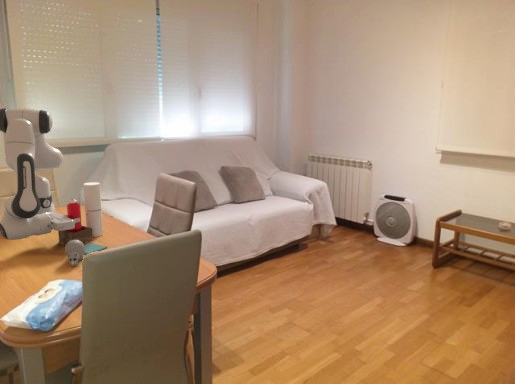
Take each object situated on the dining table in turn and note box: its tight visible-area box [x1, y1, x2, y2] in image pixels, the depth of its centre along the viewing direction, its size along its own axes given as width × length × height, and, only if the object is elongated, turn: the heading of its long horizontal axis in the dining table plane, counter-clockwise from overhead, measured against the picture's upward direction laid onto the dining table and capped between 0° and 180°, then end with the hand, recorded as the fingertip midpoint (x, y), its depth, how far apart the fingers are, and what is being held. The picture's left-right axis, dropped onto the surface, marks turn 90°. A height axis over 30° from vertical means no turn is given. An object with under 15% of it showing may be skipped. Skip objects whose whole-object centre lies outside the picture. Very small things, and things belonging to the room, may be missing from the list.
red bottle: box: [66, 198, 83, 233], centre depth 182 cm, size 6×5×20 cm
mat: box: [84, 242, 108, 256], centre depth 175 cm, size 10×10×1 cm
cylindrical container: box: [83, 181, 104, 238], centre depth 192 cm, size 7×7×25 cm
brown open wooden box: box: [57, 225, 94, 246], centre depth 184 cm, size 10×10×6 cm
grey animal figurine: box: [64, 240, 86, 267], centre depth 160 cm, size 7×12×8 cm, turn 14°
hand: (76, 217), depth 183 cm, fingers closed on red bottle, 5 cm apart
